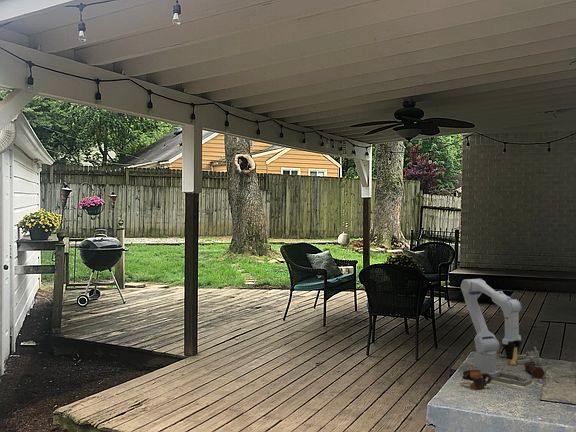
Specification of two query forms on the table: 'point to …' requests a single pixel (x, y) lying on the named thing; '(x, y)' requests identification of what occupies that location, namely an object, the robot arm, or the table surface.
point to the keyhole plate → (511, 381)
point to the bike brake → (529, 356)
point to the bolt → (534, 370)
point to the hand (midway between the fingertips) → (512, 358)
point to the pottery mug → (477, 378)
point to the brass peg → (514, 360)
